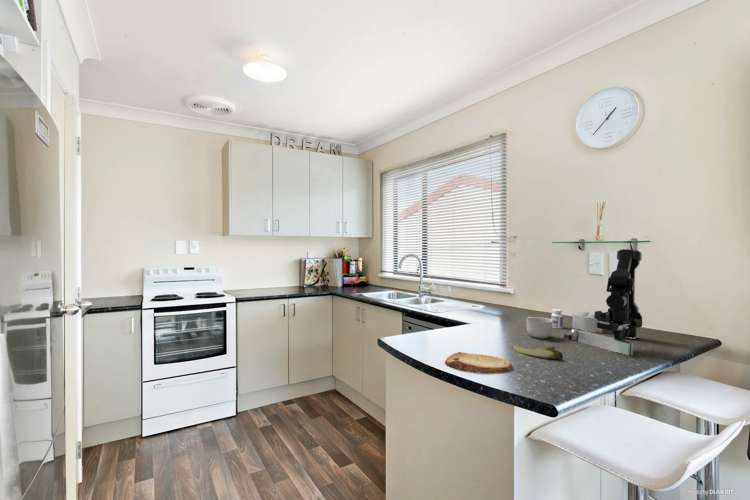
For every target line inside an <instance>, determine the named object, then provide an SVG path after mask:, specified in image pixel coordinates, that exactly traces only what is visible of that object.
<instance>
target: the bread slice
mask: <svg viewBox="0 0 750 500" xmlns="http://www.w3.org/2000/svg"><path fill="white" fill-rule="evenodd" d="M444 365H445V366H446V367H448V366H449V368H452V367H453V369H455V368H456V370H458V369H459V371H462V370H463V371H462V372H468V371H470V372H469V373H476V372H480V373H479V374H501V373H508V372H511V371H512V370H513V369H514V367H513V365H512V363H511V362H510V360H508V359H506V358H503V357H498V356H492V355H487V354H480V353H479V354H477V353H470V352H469V353H468V352H464V351H463V352H461V351H457V352H455V353H452V354H450V355H449V356H448V357H446V360H445V361H444Z"/></svg>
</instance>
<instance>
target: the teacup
mask: <svg viewBox="0 0 750 500" xmlns="http://www.w3.org/2000/svg"><path fill="white" fill-rule="evenodd" d="M525 320H526V321H525V322H526V323H525V325H526V332H527V333H528V335H529V336H531V337H532V338H536V339H548V338H549V337H551V335H552V334H553V327H552V322H553V321H552V320H551V318H548V317H547V318H546V317H540V316H538V317H537V316H535V317H534V316H533V317H532V316H527V317H526V318H525Z"/></svg>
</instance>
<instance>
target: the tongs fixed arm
mask: <svg viewBox="0 0 750 500" xmlns="http://www.w3.org/2000/svg"><path fill="white" fill-rule="evenodd" d="M595 334H596V333H595ZM595 334H591V333H587V332H583V331H580V330H577V329H573V328H571V329H570V332H567V333H563V340H564V339H565V340H569V341H570V340H571V342H572V341H573V342H578V343H582V344H586V345H590V346H592V347H593V346H594V347H596V348H599V347H600V349H602V350H606V349H607V350H606V351H610V352H614V353H617V352H618V354H621V353H622V354H621V355H624V354H625V355H624V356H631V355H630V343H627V342H628V341H627V342H623V341H619V340H615V339H611V338H612V337H611V338H607V337H608V336H607V337H603V336H604V335H603V336H599V335H600V334H599V335H595Z"/></svg>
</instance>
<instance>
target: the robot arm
mask: <svg viewBox="0 0 750 500" xmlns="http://www.w3.org/2000/svg"><path fill="white" fill-rule="evenodd" d="M616 260H617V261H618V262H617V265H616V269H615V270H613V271H612V272H610V277H608V278H607V283H606V284H607V285H606V286H607V287H606V292H607V293H610V295H608V297H606V300H605V303H606V305H607V307H608V308H607V311H605V312H603V311H602V310H596V311H594V312H595V314H594V318H595V319H598V322H597V328H600V329H603V330H604V331H605V330H606V331H610V332H611V333H612V335H613V338H615V339H619V340H623V341H626V340H627V339H626V337H632V338H633V337H636V336H637V334H638V328H642V327H643V316H642V314H641V312H640V311H639V309H640V308H639V306H638V305H637V303H636V301H635V297H636V295H635V294H636V292H635V291H636V290H635V289H636V269H638V267H639V266H640V263H641V261H642V252H641V251H639V250H637V249H632V248H631V249H629V248H627V249H626V248H623V249H619V250H617V251H616ZM637 337H638V336H637Z"/></svg>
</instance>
